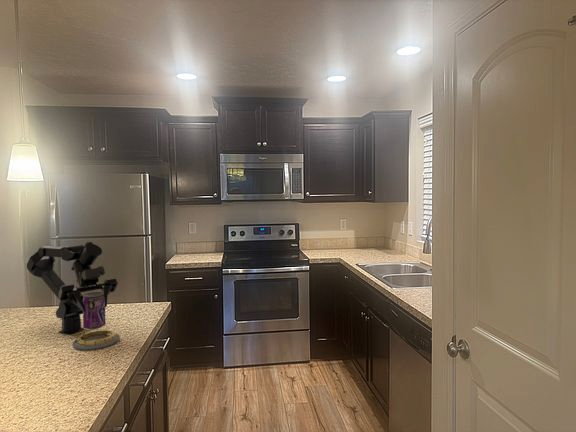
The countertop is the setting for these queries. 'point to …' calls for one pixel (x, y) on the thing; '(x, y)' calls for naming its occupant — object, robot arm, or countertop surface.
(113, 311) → the countertop surface
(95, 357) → the countertop surface
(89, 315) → the beverage can
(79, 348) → the carrier plate
